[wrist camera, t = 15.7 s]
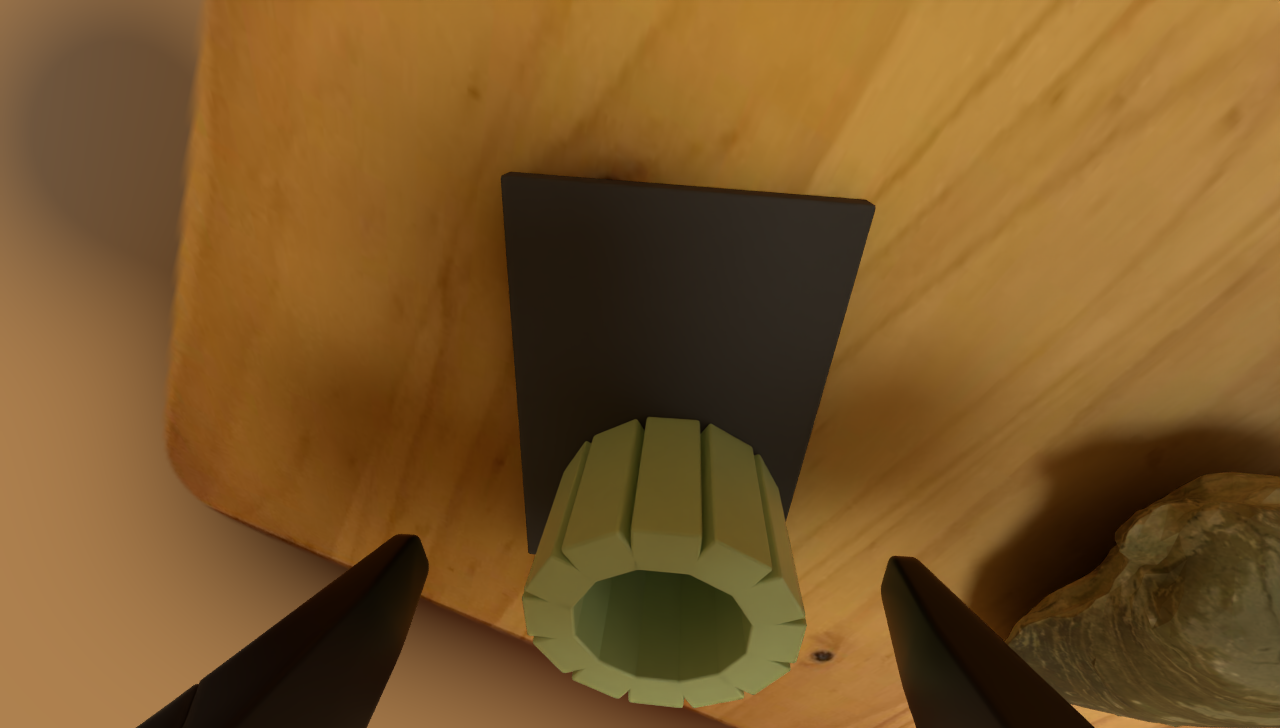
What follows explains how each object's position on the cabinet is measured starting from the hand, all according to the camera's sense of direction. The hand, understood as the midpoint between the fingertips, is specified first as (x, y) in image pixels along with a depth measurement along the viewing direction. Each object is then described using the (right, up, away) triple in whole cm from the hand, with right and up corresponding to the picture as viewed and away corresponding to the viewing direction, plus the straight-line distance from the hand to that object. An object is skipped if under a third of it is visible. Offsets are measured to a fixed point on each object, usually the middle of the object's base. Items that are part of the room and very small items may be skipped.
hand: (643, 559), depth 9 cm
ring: (+1, 0, +5) cm, 5 cm away
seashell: (+15, -2, +6) cm, 16 cm away
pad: (+1, +2, +4) cm, 5 cm away
